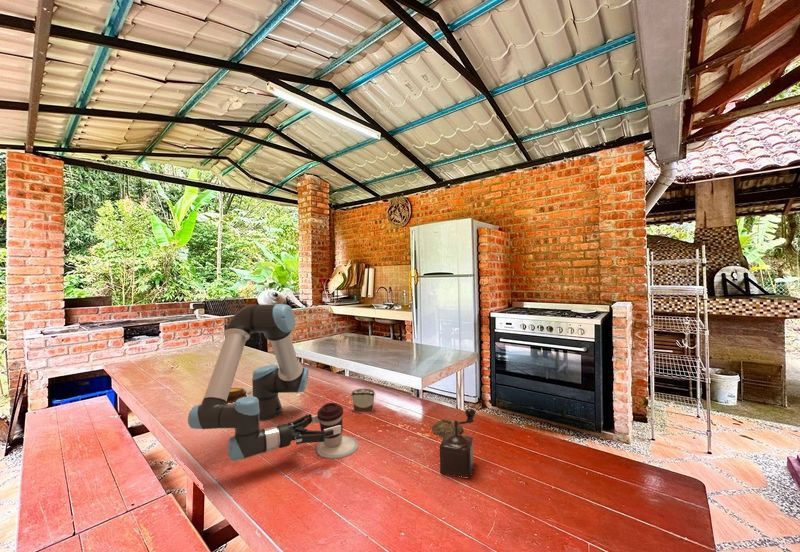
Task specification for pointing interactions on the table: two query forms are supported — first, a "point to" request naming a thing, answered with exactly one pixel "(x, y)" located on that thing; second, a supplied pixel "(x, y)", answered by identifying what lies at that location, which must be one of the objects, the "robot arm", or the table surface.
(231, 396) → the food on plate
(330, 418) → the coffee cup
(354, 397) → the food container
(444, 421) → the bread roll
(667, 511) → the table surface
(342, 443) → the saucer
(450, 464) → the manual coffee grinder
